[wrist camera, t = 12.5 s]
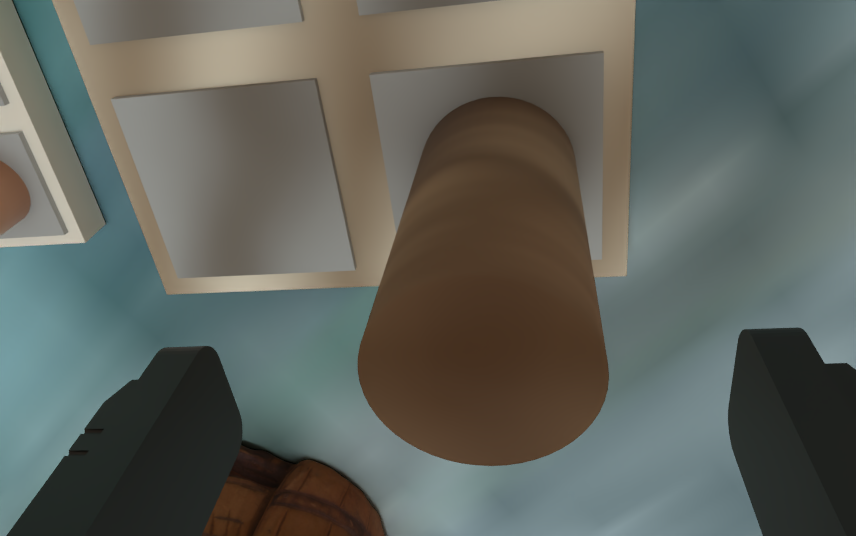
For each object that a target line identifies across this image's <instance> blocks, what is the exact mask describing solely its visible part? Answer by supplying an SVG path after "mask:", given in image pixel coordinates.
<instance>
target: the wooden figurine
mask: <svg viewBox="0 0 856 536" xmlns="http://www.w3.org/2000/svg"><path fill="white" fill-rule="evenodd" d="M202 536H385V534H384V531H383V528H382V525H381V519H380V516H379V515H378V513H377V511H376V510H375V509H374V508H373V507H372V506H371V505H370V503H369V501H368V500H367V498H366V497H365V495H364V494H363V492H362V491H361V490H359V489H358V488H357V487H356V486H354V485H353V484H352V483H351V482H349V481H348V480H347V479H345V478H344V477H342V476H340V475H339V474H338V473H337V472H336V471H334V470H333V469H331V468H329V467H327V466H325V465H322V464H320V463H318V462H315V461H312V460H309V459H308V460H303V461H301V462H299V463H298V464H291V463H288V462H285V461H283V460H281V459H279V458H277V457H275V456H274V455H272V454H270V453H268V452H266V451H262V450H252V449H249V448H247V447H245V446H242V445H241V447H240V450H239V453H238V456H237V458H236V460H235V462H234V465H233V467H232V469H231V471H230V473H229V476H228V478H227V480H226V482H225V485H224V487H223V489H222V491H221V493H220V496H219V498H218V500H217V502H216V505H215V507H214V509H213V511H212V513H211V516H210V518H209V520H208V522H207V525H206V527H205V529H204V531H203V533H202Z"/></svg>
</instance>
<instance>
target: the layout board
mask: <svg viewBox="0 0 856 536" xmlns="http://www.w3.org/2000/svg"><path fill="white" fill-rule="evenodd" d="M52 2H53V4H54V7H55V9H56V12H57V15H58V17H59V20H60V22H61V25H62V27H63V30H64V32H65V35H66V38H67V40H68V43H69V45H70V48H71V50H72V53H73V55H74V58H75V61H76V63H77V66H78V68H79V71H80V73H81V76H82V78H83V81H84V83H85V86H86V89H87V91H88V94H89V96H90V99H91V101H92V104H93V106H94V109H95V112H96V114H97V117H98V119H99V122H100V124H101V127H102V129H103V132H104V135H105V137H106V140H107V142H108V145H109V147H110V150H111V152H112V155H113V158H114V160H115V163H116V165H117V168H118V170H119V173H120V175H121V178H122V180H123V183H124V186H125V188H126V191H127V193H128V196H129V198H130V201H131V203H132V206H133V209H134V211H135V214H136V216H137V219H138V221H139V224H140V226H141V229H142V232H143V234H144V237H145V239H146V242H147V244H148V247H149V249H150V252H151V255H152V257H153V260H154V262H155V265H156V267H157V270H158V272H159V275H160V277H161V280H162V283H163V285H164V288H165V290H166V293H167V295H168V294H192V293H217V292H242V291H267V290H291V289H316V288H341V287H366V286H379V285H380V282H381V279H382V276H383V273H384V270H385V267H386V264H387V261H388V258H389V255H390V251H391V248H392V245H393V242H394V239H395V236H396V233H397V230H398V227H399V224H400V220H401V217H402V214H403V211H404V208H405V205H406V202H407V199H408V196H409V193H410V190H411V186H412V183H413V180H414V177H415V174H416V171H417V168H418V165H419V162H420V159H421V155H422V152H423V149H424V147H425V144H426V141H427V139H428V137H429V135H430V133H431V132H432V131H433V129H434V128H435V126H436V125H437V124H438V123H439V122H440V121H441V120H442V119H443V118H444V117H445V116H446V115H447V114H449V113H450V112H451V111H453V110H454V109H456V108H458V107H459V106H461V105H463V104H466V103H468V102H470V101H474V100H477V99H481V98H487V97H510V98H515V99H520V100H523V101H526V102H529V103H532V104H534V105H536V106H537V107H539V108H541V109H543V110H544V111H546V112H547V113H548V114H550V115H551V116H552V117H553V118H554V119H555V120H556V121H557V122H558V123H559V124H560V125H561V127H562V128H563V129H564V131H565V132H566V134H567V136H568V137H569V140H570V142H571V144H572V147H573V151H574V155H575V160H576V166H577V173H578V179H579V185H580V191H581V198H582V204H583V210H584V217H585V223H586V229H587V236H588V242H589V248H590V255H591V261H592V267H593V273H594V277H613V276H627V251H628V220H629V189H630V158H631V126H632V95H633V64H634V33H635V2H636V0H52Z"/></svg>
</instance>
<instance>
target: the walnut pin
mask: <svg viewBox="0 0 856 536" xmlns="http://www.w3.org/2000/svg"><path fill="white" fill-rule="evenodd" d="M358 374H359V380H360V384H361V387H362V390H363V393H364V396H365V397H366V399H367V401H368V403H369V405H370V407H371V408H372V410H373V411H374V413H375V414H376V415H377V417H378V418H379V419H380V420H381V421H382V422H383V423H384V424H385V425H386V426H387V427H388V428H389V429H390V430H391V431H392V432H393V433H395V434H396V435H397V436H399V437H400V438H401V439H403V440H404V441H406V442H407V443H409V444H411V445H412V446H414V447H416V448H418V449H420V450H422V451H424V452H427V453H429V454H431V455H434V456H437V457H440V458H443V459H446V460H450V461H454V462H459V463H464V464H471V465H484V466H498V465H511V464H518V463H523V462H527V461H531V460H535V459H538V458H541V457H544V456H547V455H549V454H551V453H553V452H556V451H558V450H560V449H562V448H563V447H565V446H566V445H568V444H570V443H571V442H573V441H574V440H575V439H576V438H578V437H579V436H580V435H581V434H582V433H583V432H584V431H585V430H586V429H587V428H588V427H589V426H590V425H591V424H592V422H593V421H594V419H595V418H596V417H597V415H598V414H599V412H600V410H601V408H602V405H603V403H604V401H605V397H606V394H607V390H608V381H609V372H608V362H607V355H606V349H605V343H604V336H603V330H602V324H601V318H600V311H599V305H598V299H597V292H596V286H595V280H594V273H593V267H592V261H591V255H590V248H589V242H588V236H587V229H586V223H585V217H584V210H583V204H582V198H581V191H580V185H579V179H578V173H577V166H576V160H575V155H574V151H573V147H572V144H571V142H570V140H569V137H568V136H567V134H566V132H565V131H564V129H563V128H562V127H561V125H560V124H559V123H558V122H557V121H556V120H555V119H554V118H553V117H552V116H551V115H550V114H548V113H547V112H546V111H544V110H543V109H541V108H539V107H537V106H536V105H534V104H532V103H529V102H526V101H523V100H520V99H515V98H510V97H487V98H481V99H477V100H474V101H470V102H468V103H466V104H463V105H461V106H459V107H458V108H456V109H454V110H453V111H451V112H450V113H449V114H447V115H446V116H445V117H444V118H443V119H442V120H441V121H440V122H439V123H438V124H437V125H436V126H435V128H434V129H433V131H432V132H431V133H430V135H429V137H428V139H427V141H426V144H425V147H424V149H423V152H422V155H421V159H420V162H419V165H418V168H417V171H416V174H415V177H414V180H413V183H412V186H411V190H410V193H409V196H408V199H407V202H406V205H405V208H404V211H403V214H402V217H401V220H400V224H399V227H398V230H397V233H396V236H395V239H394V242H393V245H392V248H391V251H390V255H389V258H388V261H387V264H386V267H385V270H384V273H383V276H382V279H381V282H380V285H379V289H378V292H377V295H376V298H375V301H374V304H373V307H372V310H371V313H370V316H369V320H368V323H367V326H366V329H365V332H364V335H363V338H362V341H361V344H360V349H359V354H358Z"/></svg>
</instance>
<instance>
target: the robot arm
mask: <svg viewBox="0 0 856 536" xmlns="http://www.w3.org/2000/svg"><path fill="white" fill-rule="evenodd" d="M728 425H729V434H730V440H731V445H732V449H733V452H734V455H735V458H736V461H737V464H738V467H739V469H740V472H741V475H742V478H743V481H744V484H745V486H746V489H747V492H748V495H749V498H750V500H751V503H752V506H753V509H754V512H755V514H756V517H757V520H758V523H759V526H760V529H761V531H762V534H763V536H856V370H855V369H854V368H853V367H851V366H850V365H849V364H847V363H835V364H825V363H824V362H823V360H822V358H821V357H820V355H819V353H818V352H817V350H816V348H815V346H814V345H813V343H812V341H811V340H810V338H809V336H808V335H807V333H806V332H805V331H804V330H803V329H801V328H772V329H744V330H742V332H741V333H740V335H739V339H738V344H737V351H736V358H735V366H734V373H733V380H732V387H731V394H730V401H729V409H728ZM241 442H242V420H241V416H240V412H239V410H238V407H237V404H236V402H235V399H234V396H233V394H232V391H231V388H230V386H229V383H228V380H227V377H226V375H225V372H224V369H223V367H222V364H221V361H220V359H219V356H218V354H217V352H216V351H215V350H214V349H213V348H212V347H210V346H196V347H167V348H163V349H161V350H160V351H159V352H158V353H157V354H156V355H155V357H154V358H153V359H152V361H151V362H150V364H149V365H148V367H147V368H146V369H145V371H144V372H143V374H142V375H141V377H140V378H139V380H131V381H130V382H129V383H127V384H126V385H125V386H124V387H123V388H121V389H120V390H119V391H118V392H116V393H115V394H114V395H113V396H111V397H110V398H109V399H108V400H106V401H105V402H104V403H103V404H102V406H101V407H100V408H99V410H98V411H97V413H96V414H95V415H94V417H93V418H92V419H91V421H90V422H89V424H88V425H87V426H86V428H85V433H84V434H80V436H79V437H78V439H77V440H76V441H75V443H74V444H73V445H72V447H71V448H70V450H69V455H68V456H64V458H63V459H62V460H61V462H60V463H59V465H58V466H57V467H56V469H55V470H54V471H53V473H52V474H51V476H50V477H49V478H48V480H47V481H46V482H45V484H44V485H43V487H42V488H41V489H40V491H39V492H38V493H37V495H36V496H35V497H34V499H33V500H32V502H31V503H30V504H29V506H28V507H27V508H26V510H25V511H24V513H23V514H22V515H21V517H20V518H19V519H18V521H17V522H16V523H15V525H14V526H13V528H12V529H11V530H10V532H9V533H8V534H7V536H202V533H203V531H204V529H205V527H206V525H207V522H208V520H209V518H210V516H211V513H212V511H213V509H214V507H215V505H216V502H217V500H218V498H219V496H220V493H221V491H222V489H223V487H224V485H225V482H226V480H227V478H228V476H229V473H230V471H231V469H232V467H233V465H234V462H235V460H236V458H237V456H238V453H239V450H240V447H241Z"/></svg>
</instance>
